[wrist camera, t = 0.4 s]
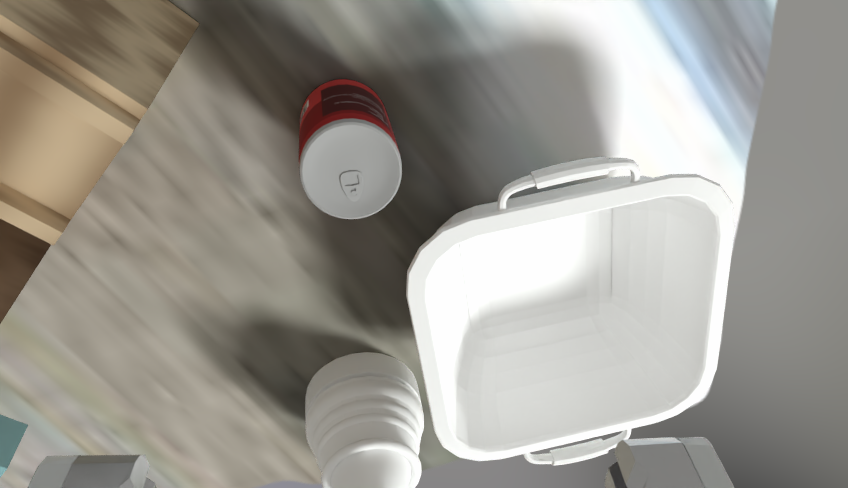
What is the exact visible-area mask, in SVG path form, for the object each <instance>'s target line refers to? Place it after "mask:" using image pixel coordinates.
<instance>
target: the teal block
mask: <svg viewBox="0 0 848 488" xmlns="http://www.w3.org/2000/svg"><path fill="white" fill-rule="evenodd" d="M27 426H28V425H27V424H24V423H21V422H19V421H16V420H13V419H11V418H8V417H5V416H3V415H0V477H1V476H2V475H3V473H4V472H5V471H6V469H7V468H8V466H9V464H10V462H11V460H12V458H13V455H14V453H15V451H16V449H17V447H18V445H19V443H20V441H21V439H22V437H23V435H24V433H25V430H26V428H27Z"/></svg>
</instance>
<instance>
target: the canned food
mask: <svg viewBox="0 0 848 488" xmlns="http://www.w3.org/2000/svg"><path fill="white" fill-rule="evenodd" d="M299 172H300V179H301V182H302V186H303V189H304V191H305V193H306V194H307V196H308V198H309V199H310V200H311V201H312V202H313V204H314V205H315V206H317V207H318V208H319V209H320V210H322V211H323V212H325V213H327V214H329V215H331V216H334V217H338V218H342V219H360V218H364V217H368V216H370V215H373V214H375V213H377V212H378V211H380V210H381V209H383V208H384V207H385V206H386V205H387V204H388V203H389V202H390V201H391V200H392V199H393V197H394V196H395V194H396V193H397V190H398V188H399V185H400V182H401V177H402V162H401V157H400V153H399V149H398V145H397V142H396V139H395V136H394V133H393V130H392V127H391V124H390V121H389V118H388V115H387V112H386V110H385V107H384V105H383V103H382V101H381V100H380V98H379V97H378V95H377V94H376V93H375V92H374V91H373V90H372V89H370V88H369V87H367V86H366V85H364V84H362V83H360V82H357V81H353V80H348V79H337V80H333V81H329V82H327V83H324V84H322V85H320V86H319V87H318V88H316V89H315V90H314V91H313V92H312V93H311V94H310V95H309V96H308V98H307V99H306V101H305V103H304V105H303V108H302V111H301V115H300V133H299Z"/></svg>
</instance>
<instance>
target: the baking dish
mask: <svg viewBox="0 0 848 488" xmlns="http://www.w3.org/2000/svg"><path fill="white" fill-rule="evenodd" d="M616 169H629V170H630V171H631V176H621V177H610V178H605V179H600V180H595V181H591V182H586V183H581V184H577V185H572V186H567V187H562V188H558V189H553V190H548V191H543V192H539V193H534V194H529V195H525V196H520V197H515V198H510V199H508V198H509V197H510V195H512V194H514V193H516V192H518V191H521V190H524V189H526V188H530V187H533V186H536V187H537V189H540V188H544V187H548V186H552V185H557V184H561V183H565V182H570V181H574V180H579V179H585V178H590V177H595V176H601V175H606V174H608V173H609V170H616ZM530 174H531V175H528V176H524V177H521V178H519V179H517V180H515V181H512V182H510V183H509V184H508V185H506V186H505V187H504V188H503V189H502V191H501V192H500V194H499V197H498V201H496V202H492V203H487V204H482V205H477V206H473V207H471V208H468V209H466V210H463V211H461V212H458V213H456V214H455V215H454V216H452V217H451V218H450V219H449V220H448V221H447V222H445V223H444V224H443V225H442V226H441V227H440V228H439V229H438V230H437V232H436V233H435V234H434V235H433V236H432V237H431V238H429V239H428V240H427V241H426V242H425V243H424V244H423V245H421V246H420V247H419V249H418V251H417V253H416V255H415V257H414V259H413V261H412V263H411V264H410V266H409V268H408V270H407V287H406V297H407V302H408V307H409V311H410V316H411V321H412V326H413V331H414V336H415V341H416V345H417V350H418V355H419V360H420V365H421V370H422V375H423V379H424V384H425V389H426V394H427V399H428V403H429V408H430V413H431V418H432V423H433V427H434V432H435V433H436V435H437V437H438V439H439V441H440V443H441V444H442V446H443V447H444V448H446V449H447V450H449V451H450V452H452V453H453V454H455V455H456V456H458V457H461V458H466V459H471V460H476V461H486V460H497V459H503V458H508V457H512V456H516V455H520V454H524V457H525V458H526V460H528V461H529V462H531V463H534V464H552V465H561V464H568V463H573V462H578V461H582V460H586V459H590V458H594V457H597V456H600V455H603V454H605V453H608V450H610V449H612V448H614V447H616V446H617V444H618V443H619V442H620V441H621V440H626V439H628V438H629V436H630V434H631V428H636V427H640V426H644V425H648V424H653V423H657V422H659V421H662V420H665V419H667V418H670V417H673V416H675V415H678V414H679V413H681V412H682V411H684V410H685V409H687V408H688V407H690V406H691V405H692V404H694V403H695V402H697V401H698V399H699V398H700V397H701V396H702V395H703V393H704V392H705V391H706V390H707V389H708V387H709V386H710V385H711V382H712V380H713V377H714V374H715V371H716V369H717V363H718V355H719V347H720V340H721V332H722V324H723V316H724V309H725V301H726V293H727V285H728V277H729V270H730V261H731V254H732V246H733V238H734V231H735V220H734V211H733V203H732V201H731V200H730V198H729V197H728V195H727V194H726V193H725V191H724V190H723V189H722V187H721V186H720V184H718V183H716V182H713V181H711V180H709V179H706V178H704V177H702V176H700V175H697V174H669V175H665V176H660V177H655V178H652V177H646V176H640V170H639V167H638V165H637V164H636V163H635V162H634V161H633V160H630V159H627V158H609V159H607V158H606V157H605V156H603V157H594V158H586V159H580V160H575V161H569V162H565V163H560V164H556V165H552V166H548V167H545V168H541V169H538V170H535V171H531V172H530ZM619 431H623V432H622V433H621V434H619V435H617V436H615V437H612V438H609V439H606V440H604V441H602V439H597V440H594V441H590V442H586V443H583V444H579V445H574V446H570V447H565V448H560V449H555V450H550V453H548V454H539V455H532V454H530V453H529V452H533V451H537V450H542V449H546V448H550V447H555V446H559V445H563V444H567V443H572V442H576V441H580V440H584V439H589V438H593V437H597V436H602V435H606V434H610V433H614V432H619Z"/></svg>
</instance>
